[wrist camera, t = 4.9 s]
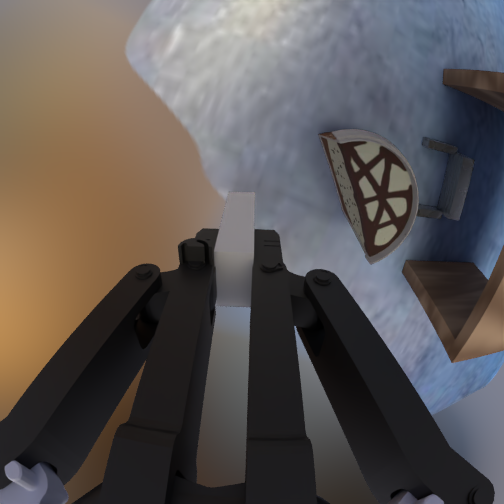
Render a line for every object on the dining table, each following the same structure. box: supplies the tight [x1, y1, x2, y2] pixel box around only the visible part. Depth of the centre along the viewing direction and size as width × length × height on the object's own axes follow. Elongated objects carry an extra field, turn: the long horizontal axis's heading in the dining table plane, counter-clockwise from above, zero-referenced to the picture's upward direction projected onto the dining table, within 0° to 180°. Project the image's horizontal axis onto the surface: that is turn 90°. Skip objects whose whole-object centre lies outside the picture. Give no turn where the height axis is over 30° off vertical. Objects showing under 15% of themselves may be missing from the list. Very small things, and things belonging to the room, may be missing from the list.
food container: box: [318, 129, 419, 264], centre depth 25 cm, size 12×6×10 cm, turn 22°
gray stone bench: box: [416, 137, 475, 220], centre depth 28 cm, size 10×6×3 cm
